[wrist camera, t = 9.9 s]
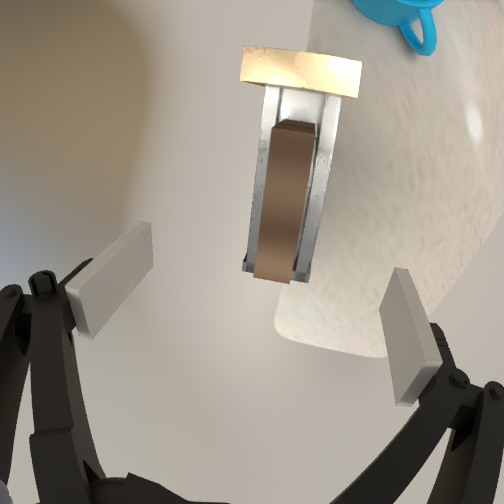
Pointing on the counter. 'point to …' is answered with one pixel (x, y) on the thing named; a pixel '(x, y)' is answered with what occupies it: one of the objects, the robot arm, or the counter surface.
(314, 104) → the door track
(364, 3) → the mug
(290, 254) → the door panel
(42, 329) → the robot arm
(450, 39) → the counter surface
